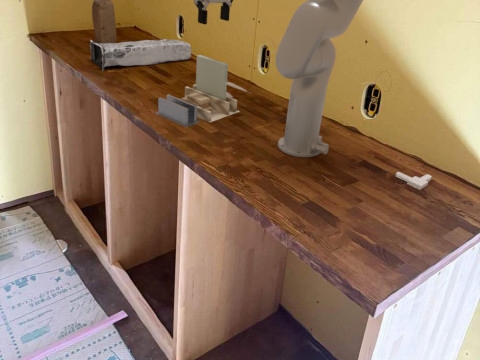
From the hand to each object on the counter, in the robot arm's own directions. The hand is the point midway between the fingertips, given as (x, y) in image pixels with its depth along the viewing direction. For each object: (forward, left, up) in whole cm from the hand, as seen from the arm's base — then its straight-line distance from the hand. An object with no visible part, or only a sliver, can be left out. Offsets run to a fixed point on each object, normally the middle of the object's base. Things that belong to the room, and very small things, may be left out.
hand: (213, 21), depth 144 cm
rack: (0, +4, -28) cm, 28 cm away
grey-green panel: (0, 0, -27) cm, 27 cm away
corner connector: (-68, -6, -29) cm, 74 cm away
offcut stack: (0, +7, -27) cm, 27 cm away
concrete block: (+55, -17, -29) cm, 65 cm away
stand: (-1, +16, -28) cm, 32 cm away
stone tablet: (+7, -15, -29) cm, 33 cm away
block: (+83, -18, -28) cm, 90 cm away
